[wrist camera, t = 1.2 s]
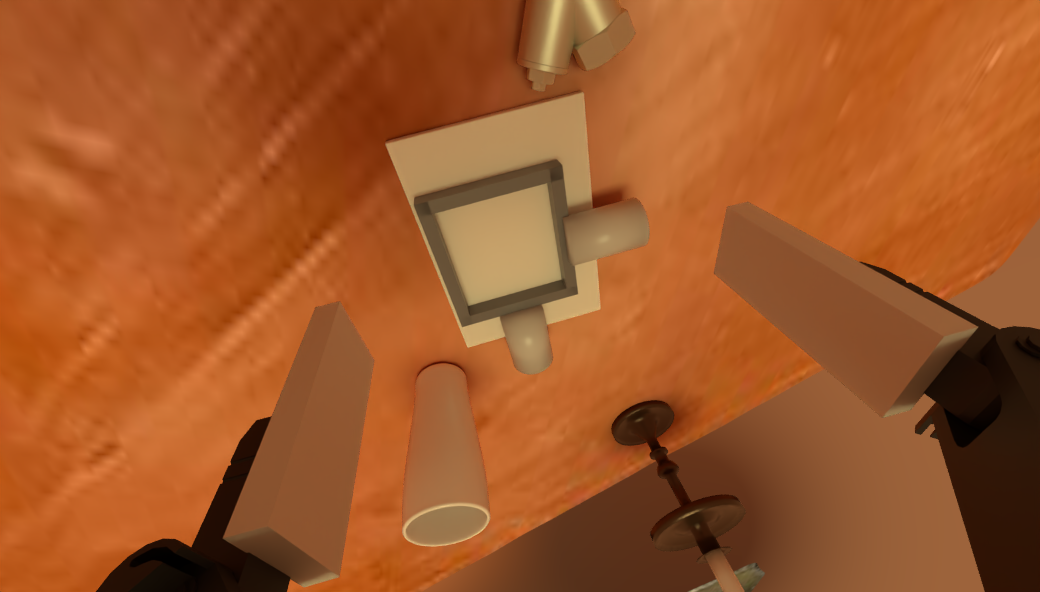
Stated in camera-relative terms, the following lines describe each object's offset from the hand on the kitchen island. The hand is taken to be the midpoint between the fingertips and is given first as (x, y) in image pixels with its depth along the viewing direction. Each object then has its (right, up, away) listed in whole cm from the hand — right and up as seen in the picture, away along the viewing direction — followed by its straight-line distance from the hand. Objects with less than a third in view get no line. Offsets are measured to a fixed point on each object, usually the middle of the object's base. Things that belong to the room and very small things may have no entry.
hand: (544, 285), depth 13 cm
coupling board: (0, +4, +20) cm, 20 cm away
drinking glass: (-9, -9, +27) cm, 30 cm away
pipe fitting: (+1, +18, +11) cm, 21 cm away
